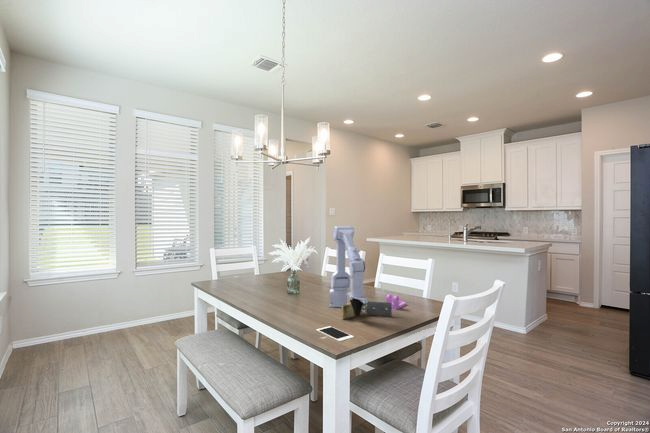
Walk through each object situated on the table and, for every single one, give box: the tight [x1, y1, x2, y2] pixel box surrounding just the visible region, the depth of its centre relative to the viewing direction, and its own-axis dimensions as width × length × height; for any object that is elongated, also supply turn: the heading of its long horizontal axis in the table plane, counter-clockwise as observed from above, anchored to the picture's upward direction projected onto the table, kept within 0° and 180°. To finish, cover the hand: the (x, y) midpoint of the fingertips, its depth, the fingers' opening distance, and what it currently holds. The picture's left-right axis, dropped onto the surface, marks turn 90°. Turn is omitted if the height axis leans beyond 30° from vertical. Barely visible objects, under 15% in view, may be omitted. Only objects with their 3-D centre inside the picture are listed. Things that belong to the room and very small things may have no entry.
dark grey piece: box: [361, 300, 393, 317], centre depth 157 cm, size 15×2×7 cm, turn 77°
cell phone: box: [315, 325, 355, 342], centre depth 133 cm, size 8×16×1 cm, turn 37°
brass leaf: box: [341, 303, 367, 320], centre depth 155 cm, size 15×2×6 cm, turn 127°
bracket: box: [385, 293, 406, 311], centre depth 174 cm, size 13×6×7 cm, turn 139°
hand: (357, 315), depth 149 cm, fingers closed
